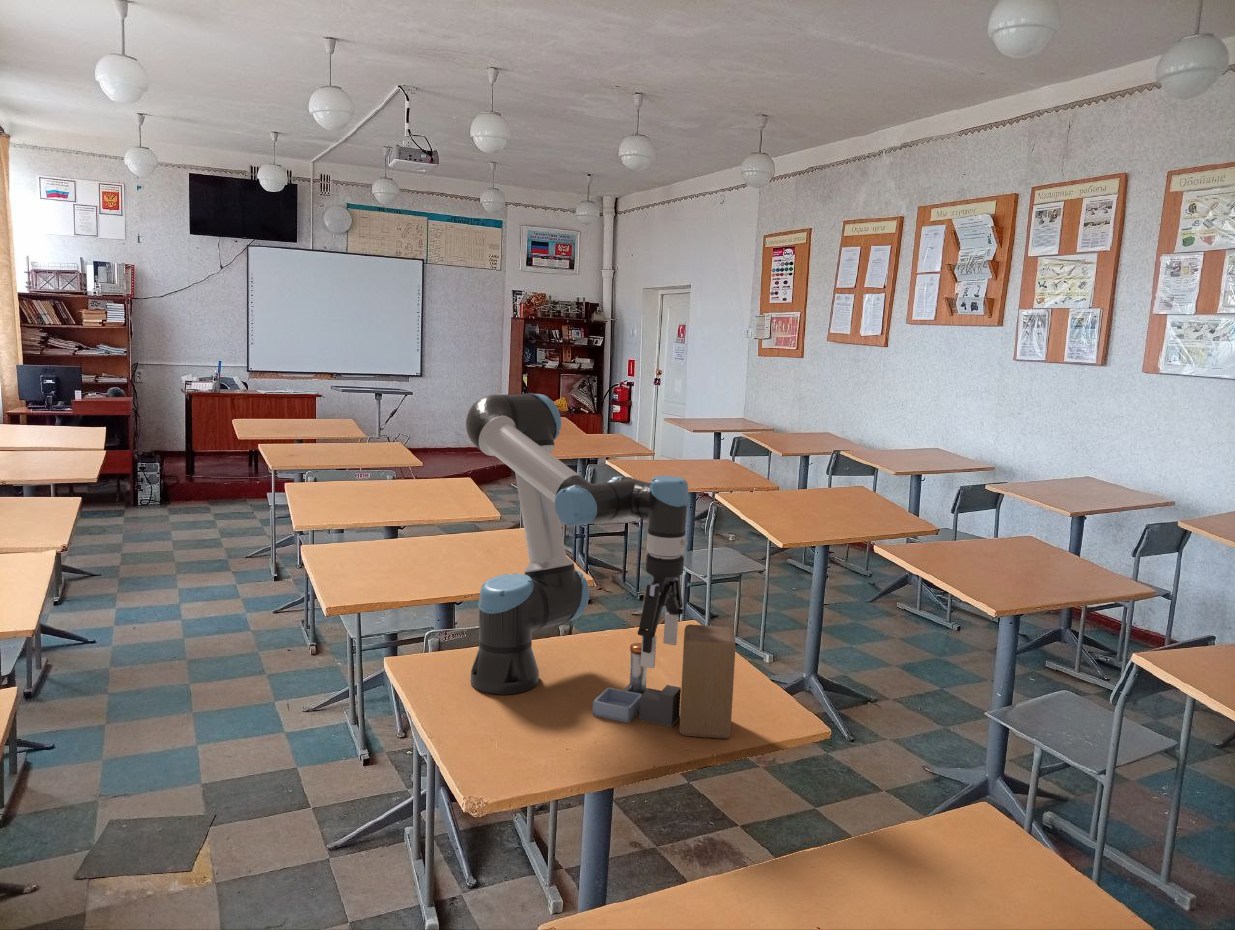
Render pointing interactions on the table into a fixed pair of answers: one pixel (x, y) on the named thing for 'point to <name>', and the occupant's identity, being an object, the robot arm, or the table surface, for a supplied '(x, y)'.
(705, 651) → the block
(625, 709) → the tray
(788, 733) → the table surface
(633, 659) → the pin
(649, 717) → the dark grey stepped piece
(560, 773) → the table surface
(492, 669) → the robot arm
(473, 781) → the table surface
